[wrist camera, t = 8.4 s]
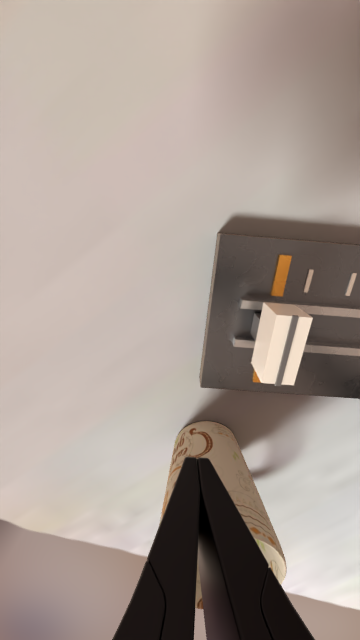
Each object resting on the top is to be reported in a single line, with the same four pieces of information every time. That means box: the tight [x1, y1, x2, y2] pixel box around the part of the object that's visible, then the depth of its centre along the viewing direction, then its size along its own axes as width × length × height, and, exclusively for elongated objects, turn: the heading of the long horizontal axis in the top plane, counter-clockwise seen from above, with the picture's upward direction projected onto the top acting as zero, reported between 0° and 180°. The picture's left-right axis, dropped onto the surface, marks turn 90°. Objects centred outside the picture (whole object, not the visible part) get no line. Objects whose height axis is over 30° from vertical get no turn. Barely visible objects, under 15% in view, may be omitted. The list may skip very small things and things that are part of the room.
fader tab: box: [250, 302, 313, 387], centre depth 17 cm, size 2×4×4 cm, turn 175°
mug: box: [159, 421, 286, 609], centre depth 21 cm, size 8×13×10 cm, turn 27°
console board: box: [199, 233, 360, 399], centre depth 19 cm, size 19×12×2 cm, turn 85°
